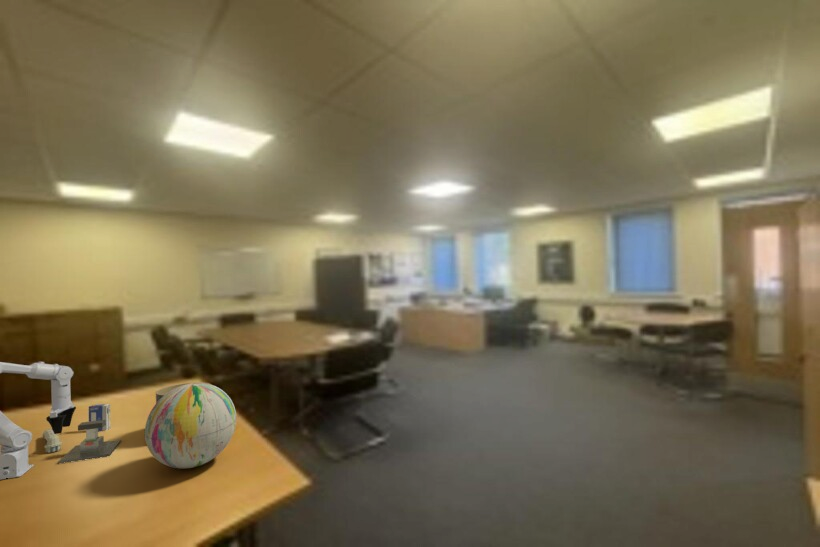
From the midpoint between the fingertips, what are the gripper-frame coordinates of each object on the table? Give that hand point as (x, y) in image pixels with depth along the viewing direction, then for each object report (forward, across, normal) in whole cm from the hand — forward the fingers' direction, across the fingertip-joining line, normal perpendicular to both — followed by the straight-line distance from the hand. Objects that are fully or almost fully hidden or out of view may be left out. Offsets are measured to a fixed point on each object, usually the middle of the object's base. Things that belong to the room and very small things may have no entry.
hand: (62, 429), depth 158 cm
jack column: (+6, 0, -10) cm, 12 cm away
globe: (+11, -30, -50) cm, 59 cm away
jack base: (+10, 0, -10) cm, 14 cm away
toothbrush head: (+11, +17, +10) cm, 22 cm away
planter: (+12, +8, -42) cm, 44 cm away
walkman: (+11, +28, -4) cm, 31 cm away
